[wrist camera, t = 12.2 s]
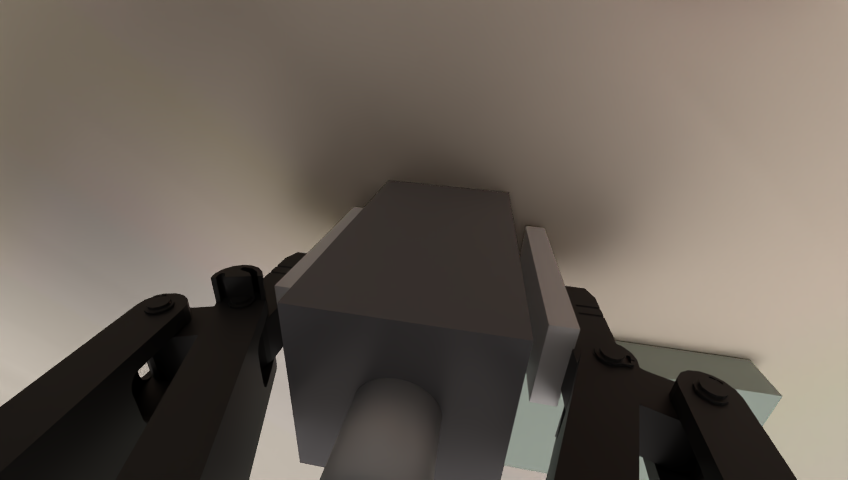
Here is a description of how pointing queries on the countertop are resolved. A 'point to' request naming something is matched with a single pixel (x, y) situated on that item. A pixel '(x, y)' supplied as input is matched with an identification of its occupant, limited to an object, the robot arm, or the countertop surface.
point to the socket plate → (541, 421)
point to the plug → (410, 339)
